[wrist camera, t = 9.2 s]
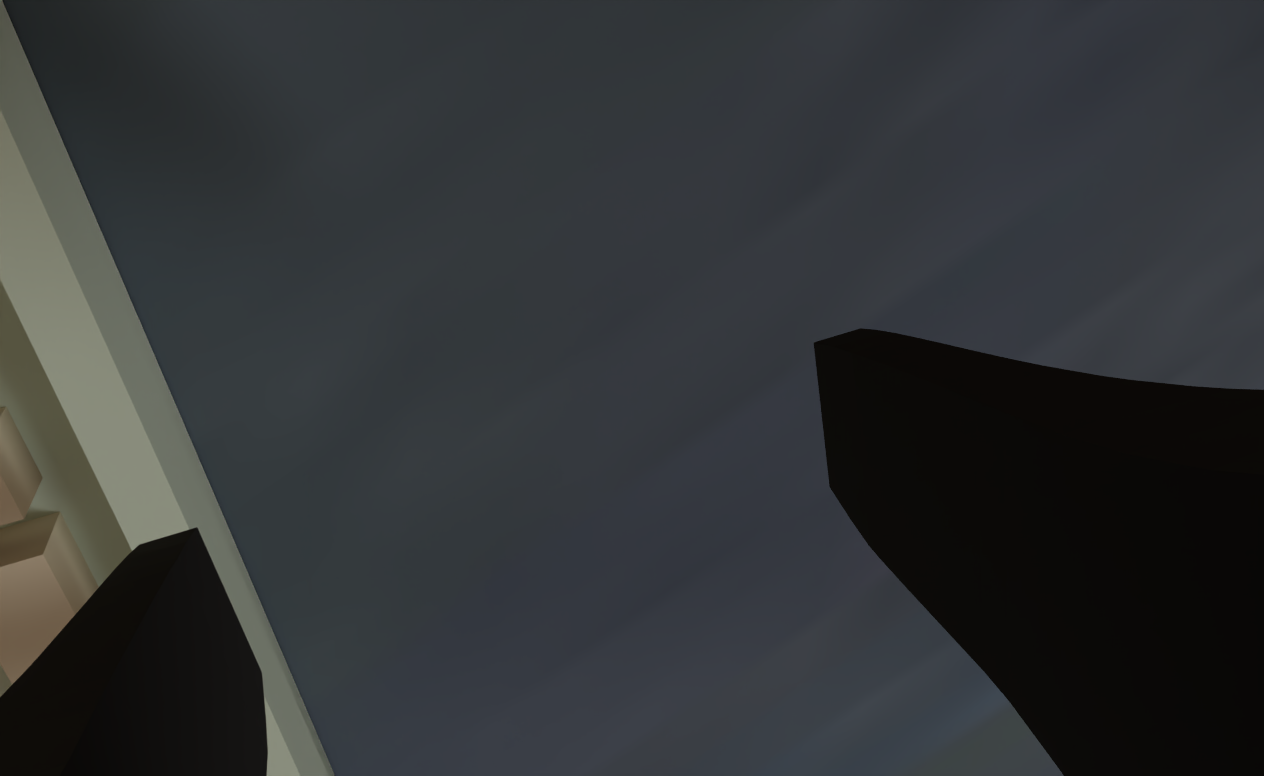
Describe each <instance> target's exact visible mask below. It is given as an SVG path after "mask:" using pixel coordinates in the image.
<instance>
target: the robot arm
mask: <svg viewBox="0 0 1264 776" xmlns="http://www.w3.org/2000/svg"><path fill="white" fill-rule="evenodd" d="M814 349H815V358H816V367H817V376H818V385H819V394H820V403H821V412H822V421H823V430H824V439H825V448H826V457H827V466H828V475H829V484H830V488H831V490H832V491H833V493H834V494H835V496H836V497H837V499H838V500H839V502H840V504H841V505H842V507H843V508H844V510H845V511H846V513H847V514H848V516H849V517H850V519H851V520H852V522H853V523H854V525H855V526H856V528H857V529H858V531H859V532H860V533H861V535H862V536H863V538H864V539H865V541H866V542H867V543H868V545H869V546H870V548H871V549H872V550H873V551H874V552H875V553H876V554H877V556H878V557H879V558H880V559H881V560H882V561H883V562H884V563H885V565H886V566H887V567H888V568H889V569H890V570H891V571H892V572H893V573H894V574H895V576H896V577H897V578H898V579H899V580H900V581H901V582H902V583H903V584H904V585H905V587H906V588H907V589H908V590H909V591H910V592H911V593H912V594H913V595H914V596H915V597H916V599H917V600H918V601H919V602H920V603H921V604H922V605H923V606H924V607H925V608H926V609H927V610H928V611H929V613H930V614H931V615H932V616H933V617H934V618H935V619H936V620H937V621H938V622H939V623H940V624H941V625H942V627H943V628H944V629H945V630H946V631H947V632H948V633H949V634H950V635H951V636H952V637H953V638H954V639H955V641H956V642H957V643H958V644H959V645H960V646H961V647H962V648H963V649H964V650H965V651H966V652H967V654H968V655H969V656H970V657H971V658H972V659H973V660H974V661H975V662H976V663H977V664H978V665H979V666H980V668H981V669H982V670H983V671H984V672H985V673H986V674H987V675H988V677H989V678H990V679H991V680H992V681H993V683H994V684H995V685H996V686H997V687H998V688H999V690H1000V691H1001V692H1002V693H1003V694H1004V696H1005V697H1006V698H1007V699H1008V700H1009V702H1010V703H1011V704H1012V705H1013V707H1014V708H1015V710H1016V711H1017V712H1018V714H1019V715H1020V716H1021V718H1022V719H1023V720H1024V722H1025V723H1026V724H1027V726H1028V727H1029V729H1030V730H1031V731H1032V733H1033V734H1034V735H1035V737H1036V738H1037V739H1038V741H1039V742H1040V743H1041V745H1042V746H1043V748H1044V749H1045V750H1046V752H1047V753H1048V754H1049V756H1050V757H1051V758H1052V760H1053V761H1054V762H1055V764H1056V765H1057V767H1058V768H1059V769H1060V771H1061V772H1062V774H1063V775H1064V776H1264V390H1250V389H1225V388H1209V387H1195V386H1184V385H1175V384H1165V383H1155V382H1145V381H1136V380H1127V379H1120V378H1113V377H1106V376H1099V375H1093V374H1087V373H1082V372H1076V371H1070V370H1064V369H1059V368H1053V367H1047V366H1042V365H1037V364H1032V363H1027V362H1022V361H1018V360H1013V359H1008V358H1004V357H999V356H995V355H990V354H986V353H981V352H977V351H972V350H968V349H964V348H960V347H955V346H951V345H947V344H942V343H938V342H934V341H929V340H925V339H920V338H916V337H911V336H906V335H902V334H897V333H891V332H886V331H879V330H871V329H857V330H854V331H851V332H847V333H844V334H841V335H837V336H834V337H831V338H827V339H824V340H821V341H817V342H814ZM267 760H268V745H267V728H266V713H265V701H264V689H263V678H262V671H261V669H260V667H259V665H258V662H257V660H256V658H255V656H254V653H253V651H252V649H251V647H250V644H249V642H248V640H247V638H246V635H245V633H244V631H243V629H242V626H241V624H240V622H239V620H238V617H237V615H236V613H235V611H234V608H233V606H232V604H231V602H230V599H229V597H228V595H227V593H226V590H225V588H224V586H223V584H222V581H221V579H220V577H219V575H218V572H217V570H216V568H215V566H214V564H213V561H212V559H211V557H210V555H209V552H208V550H207V548H206V546H205V543H204V541H203V539H202V537H201V534H200V532H199V530H198V528H197V527H196V528H193V529H189V530H186V531H183V532H179V533H176V534H173V535H169V536H166V537H163V538H159V539H156V540H153V541H149V542H146V543H143V544H139V545H138V546H137V547H136V548H135V549H134V550H133V551H132V552H130V553H129V554H128V555H127V556H126V557H125V558H124V560H123V561H122V562H121V563H120V564H119V565H118V566H117V567H116V568H115V569H114V570H113V572H112V573H111V574H110V575H109V576H108V577H107V578H106V580H105V581H104V582H103V583H102V584H101V585H100V586H99V588H98V589H97V590H96V591H95V592H94V593H93V595H92V596H91V597H90V598H89V599H88V600H87V602H86V603H85V604H84V605H83V606H82V607H81V609H80V610H79V611H78V612H77V613H76V614H75V615H74V617H73V618H72V619H71V620H70V621H69V622H68V623H67V625H66V626H65V627H64V628H63V629H62V630H61V631H60V633H59V634H58V635H57V636H56V637H55V638H54V639H53V641H52V642H51V643H50V644H49V645H48V646H47V647H46V649H45V650H44V651H43V652H42V653H41V654H40V655H39V657H38V658H37V659H36V660H35V661H34V662H33V663H32V664H31V665H30V666H29V667H28V669H27V670H26V671H25V672H24V673H23V674H22V675H21V676H20V677H19V678H18V679H17V680H16V681H15V682H14V683H13V684H12V685H11V686H10V687H9V688H8V689H7V691H6V692H5V693H4V694H3V695H2V696H1V697H0V776H267Z"/></svg>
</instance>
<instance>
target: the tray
mask: <svg viewBox="0 0 1264 776" xmlns="http://www.w3.org/2000/svg"><path fill="white" fill-rule="evenodd" d="M2 407H7V409H8V411H9V413H10V415H11V417H12V419H13V420H14V422H15V424H16V426H17V428H18V430H19V432H20V434H21V436H22V438H23V440H24V442H25V444H26V446H27V448H28V450H29V452H30V454H31V456H32V458H33V460H34V461H35V463H36V465H37V467H38V469H39V471H40V473H41V475H42V477H43V478H42V481H41V483H40V485H39V487H38V490H37V492H36V494H35V496H34V498H33V501H32V503H31V505H30V507H29V509H28V512H27V514H26V516H25V518H24V519H22V520H19V521H15V522H12V523H9V524H5V525H2V526H0V529H2V528H5V527H9V526H12V525H15V524H19V523H22V522H26V521H29V520H33V519H36V518H40V517H43V516H46V515H50V514H53V513H57V512H61V514H62V516H63V518H64V520H65V522H66V524H67V526H68V528H69V530H70V532H71V534H72V536H73V538H74V540H75V541H76V543H77V545H78V547H79V549H80V551H81V553H82V555H83V557H84V559H85V561H86V563H87V565H88V567H89V569H90V571H91V573H92V575H93V577H94V579H95V580H96V582H97V584H98V586H100V585H101V584H102V583H103V582H104V581H105V580H106V578H107V577H108V576H109V575H110V574H111V573H112V572H113V570H114V569H115V568H116V567H117V566H118V565H119V564H120V563H121V562H122V561H123V560H124V558H125V557H126V556H127V555H128V554H129V553H130V552H132V551H133V550H134V549H135V548H136V547H137V546H138V545H139V544H143V543H146V542H149V541H153V540H156V539H159V538H163V537H166V536H169V535H173V534H176V533H179V532H183V531H186V530H189V529H193V528H196V527H197V528H198V530H199V532H200V534H201V537H202V539H203V541H204V543H205V546H206V548H207V550H208V552H209V555H210V557H211V559H212V561H213V564H214V566H215V568H216V570H217V572H218V575H219V577H220V579H221V581H222V584H223V586H224V588H225V590H226V593H227V595H228V597H229V599H230V602H231V604H232V606H233V608H234V611H235V613H236V615H237V617H238V620H239V622H240V624H241V626H242V629H243V631H244V633H245V635H246V638H247V640H248V642H249V644H250V647H251V649H252V651H253V653H254V656H255V658H256V660H257V662H258V665H259V667H260V669H261V671H262V678H263V689H264V701H265V713H266V728H267V745H268V760H267V776H335V775H334V773H333V770H332V768H331V766H330V763H329V761H328V759H327V756H326V754H325V752H324V749H323V747H322V745H321V742H320V740H319V738H318V735H317V733H316V731H315V728H314V726H313V724H312V721H311V719H310V717H309V714H308V712H307V710H306V707H305V705H304V703H303V700H302V698H301V696H300V693H299V691H298V689H297V686H296V684H295V682H294V679H293V677H292V675H291V672H290V670H289V668H288V665H287V663H286V661H285V658H284V656H283V654H282V651H281V649H280V647H279V644H278V642H277V640H276V637H275V635H274V633H273V630H272V628H271V626H270V623H269V621H268V619H267V616H266V614H265V612H264V609H263V607H262V605H261V602H260V600H259V598H258V595H257V593H256V591H255V588H254V586H253V584H252V582H251V579H250V577H249V575H248V572H247V570H246V568H245V565H244V563H243V561H242V558H241V556H240V554H239V551H238V549H237V547H236V544H235V542H234V540H233V537H232V535H231V533H230V530H229V528H228V526H227V523H226V521H225V519H224V516H223V514H222V512H221V509H220V507H219V505H218V502H217V500H216V498H215V495H214V493H213V491H212V488H211V486H210V484H209V481H208V479H207V477H206V474H205V472H204V470H203V467H202V465H201V463H200V460H199V458H198V456H197V453H196V451H195V449H194V446H193V444H192V442H191V439H190V437H189V435H188V432H187V430H186V428H185V425H184V423H183V421H182V418H181V416H180V414H179V411H178V409H177V407H176V404H175V402H174V400H173V397H172V395H171V393H170V390H169V388H168V386H167V383H166V381H165V379H164V376H163V374H162V372H161V369H160V367H159V365H158V362H157V360H156V358H155V355H154V353H153V351H152V349H151V346H150V344H149V342H148V339H147V337H146V335H145V332H144V330H143V328H142V325H141V323H140V321H139V318H138V316H137V314H136V311H135V309H134V307H133V304H132V302H131V300H130V297H129V295H128V293H127V290H126V288H125V286H124V283H123V281H122V279H121V276H120V274H119V272H118V269H117V267H116V265H115V262H114V260H113V258H112V255H111V253H110V251H109V248H108V246H107V244H106V241H105V239H104V237H103V234H102V232H101V230H100V227H99V225H98V223H97V220H96V218H95V216H94V213H93V211H92V209H91V206H90V204H89V202H88V199H87V197H86V195H85V192H84V190H83V188H82V185H81V183H80V181H79V178H78V176H77V174H76V171H75V169H74V167H73V164H72V162H71V160H70V157H69V155H68V153H67V150H66V148H65V146H64V143H63V141H62V139H61V136H60V134H59V132H58V129H57V127H56V125H55V122H54V120H53V118H52V116H51V113H50V111H49V109H48V106H47V104H46V102H45V99H44V97H43V95H42V92H41V90H40V88H39V85H38V83H37V81H36V78H35V76H34V74H33V71H32V69H31V67H30V64H29V62H28V60H27V57H26V55H25V53H24V50H23V48H22V46H21V43H20V41H19V39H18V36H17V34H16V32H15V29H14V27H13V25H12V22H11V20H10V18H9V15H8V13H7V11H6V8H5V6H4V4H3V1H2V0H0V408H2ZM11 685H12V683H11V681H10V680H9V678H8V676H7V675H6V673H5V671H4V670H3V668H2V666H1V665H0V697H1V696H2V695H3V694H4V693H5V692H6V691H7V689H8V688H9V687H10V686H11Z"/></svg>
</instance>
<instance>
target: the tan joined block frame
mask: <svg viewBox="0 0 1264 776" xmlns="http://www.w3.org/2000/svg"><path fill="white" fill-rule="evenodd" d="M42 478H43V477H42V475H41V473H40V471H39V469H38V467H37V465H36V463H35V461H34V460H33V458H32V456H31V454H30V452H29V450H28V448H27V446H26V444H25V442H24V440H23V438H22V436H21V434H20V432H19V430H18V428H17V426H16V424H15V422H14V420H13V419H12V417H11V415H10V413H9V411H8V409H7V407H2V408H0V526H2V525H5V524H9V523H12V522H15V521H19V520H22V519H24V518H25V516H26V514H27V512H28V509H29V507H30V505H31V503H32V501H33V498H34V496H35V494H36V492H37V490H38V487H39V485H40V483H41V481H42ZM98 588H99V586H98V584H97V582H96V580H95V579H94V577H93V575H92V573H91V571H90V569H89V567H88V565H87V563H86V561H85V559H84V557H83V555H82V553H81V551H80V549H79V547H78V545H77V543H76V541H75V540H74V538H73V536H72V534H71V532H70V530H69V528H68V526H67V524H66V522H65V520H64V518H63V516H62V514H61V512H57V513H53V514H50V515H46V516H43V517H40V518H36V519H33V520H29V521H26V522H22V523H19V524H15V525H12V526H9V527H5V528H2V529H0V665H1V666H2V668H3V670H4V671H5V673H6V675H7V676H8V678H9V680H10V681H11V683H12V684H13V683H14V682H15V681H16V680H17V679H18V678H19V677H20V676H21V675H22V674H23V673H24V672H25V671H26V670H27V669H28V667H29V666H30V665H31V664H32V663H33V662H34V661H35V660H36V659H37V658H38V657H39V655H40V654H41V653H42V652H43V651H44V650H45V649H46V647H47V646H48V645H49V644H50V643H51V642H52V641H53V639H54V638H55V637H56V636H57V635H58V634H59V633H60V631H61V630H62V629H63V628H64V627H65V626H66V625H67V623H68V622H69V621H70V620H71V619H72V618H73V617H74V615H75V614H76V613H77V612H78V611H79V610H80V609H81V607H82V606H83V605H84V604H85V603H86V602H87V600H88V599H89V598H90V597H91V596H92V595H93V593H94V592H95V591H96V590H97V589H98Z"/></svg>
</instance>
